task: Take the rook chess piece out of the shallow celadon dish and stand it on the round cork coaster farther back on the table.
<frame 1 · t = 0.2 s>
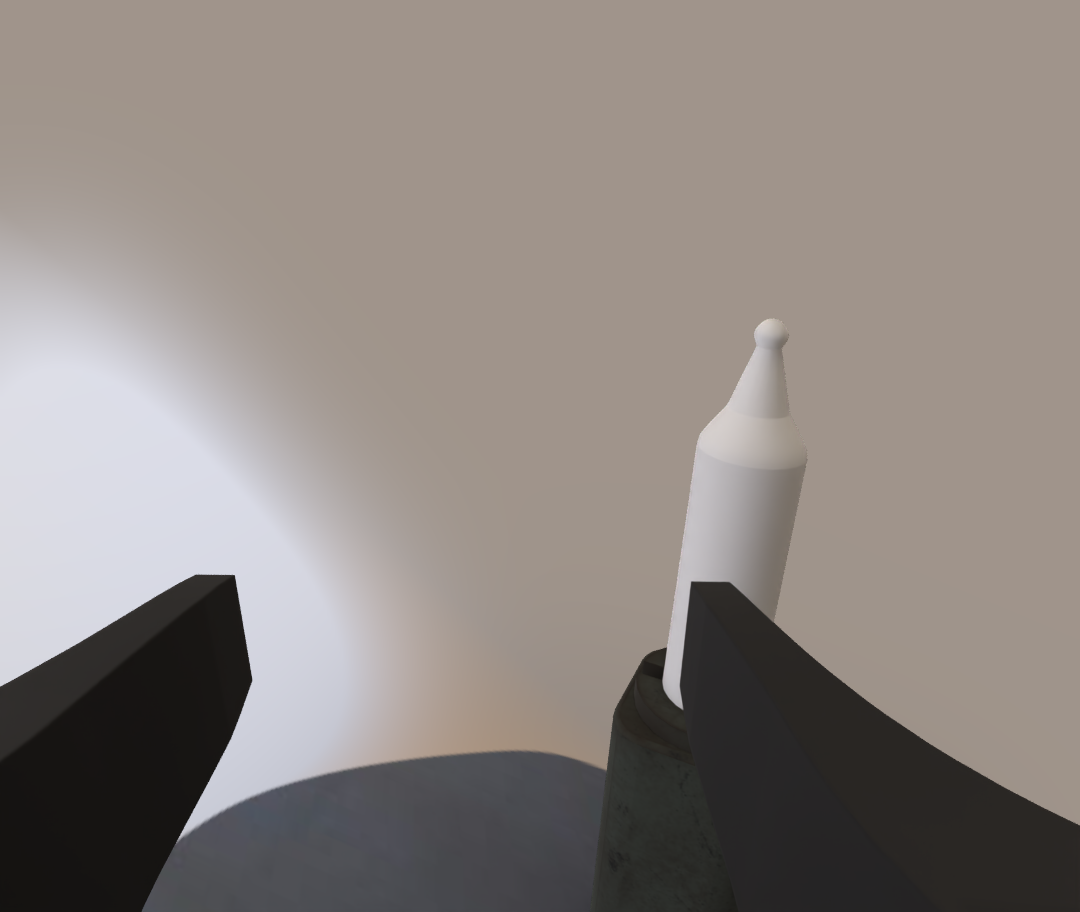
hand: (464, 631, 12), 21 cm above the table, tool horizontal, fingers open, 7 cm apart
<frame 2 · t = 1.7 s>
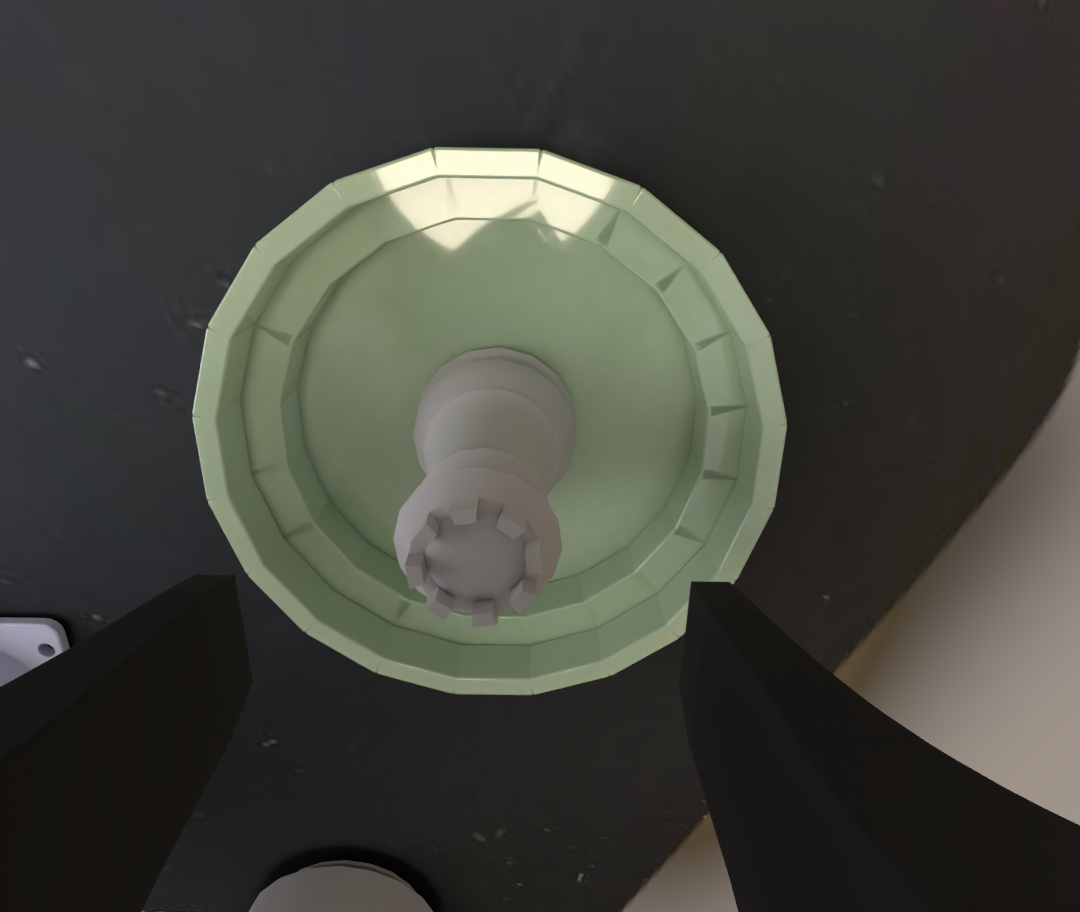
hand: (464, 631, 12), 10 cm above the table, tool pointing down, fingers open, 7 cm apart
can: (351, 907, 29), on the table
dish: (498, 415, 21), on the table
rook chess piece: (497, 417, 21), resting on dish
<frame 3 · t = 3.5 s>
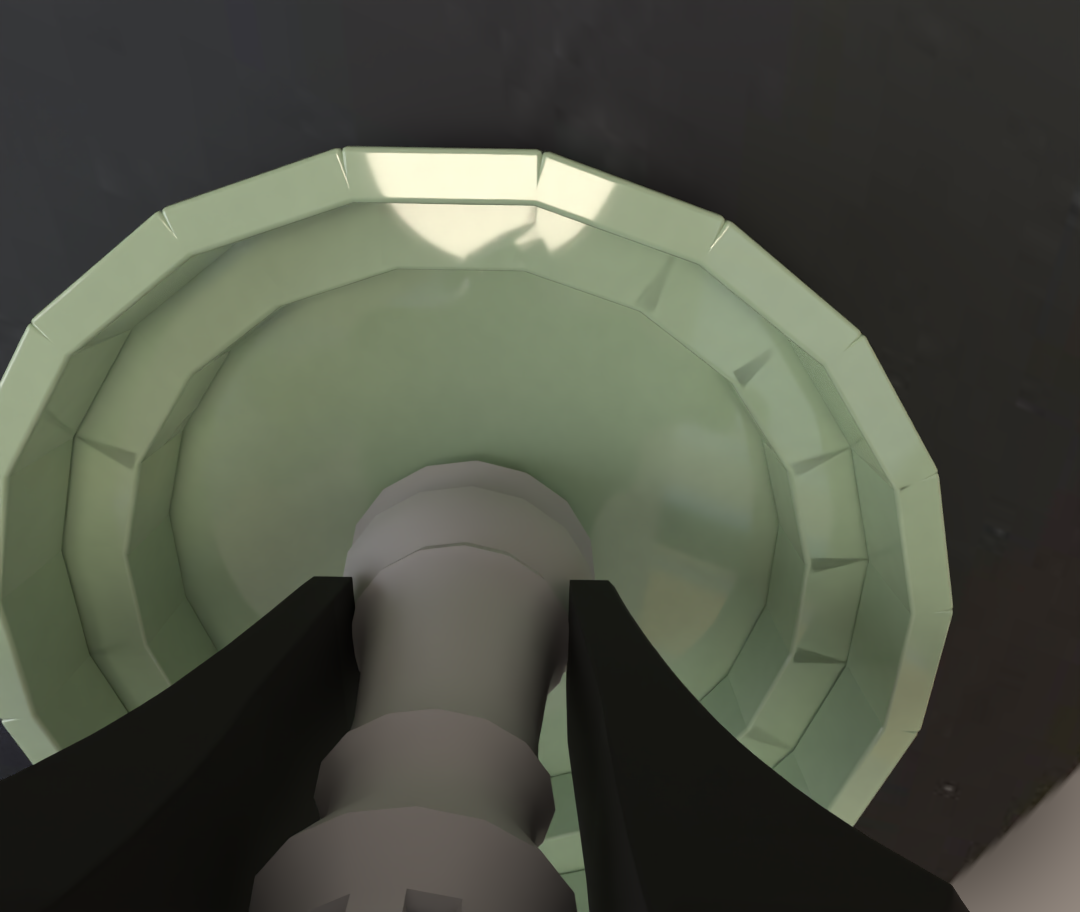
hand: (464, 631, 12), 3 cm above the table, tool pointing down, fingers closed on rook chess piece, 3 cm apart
dish: (477, 549, 14), on the table
rook chess piece: (475, 554, 14), resting on dish, touching gripper
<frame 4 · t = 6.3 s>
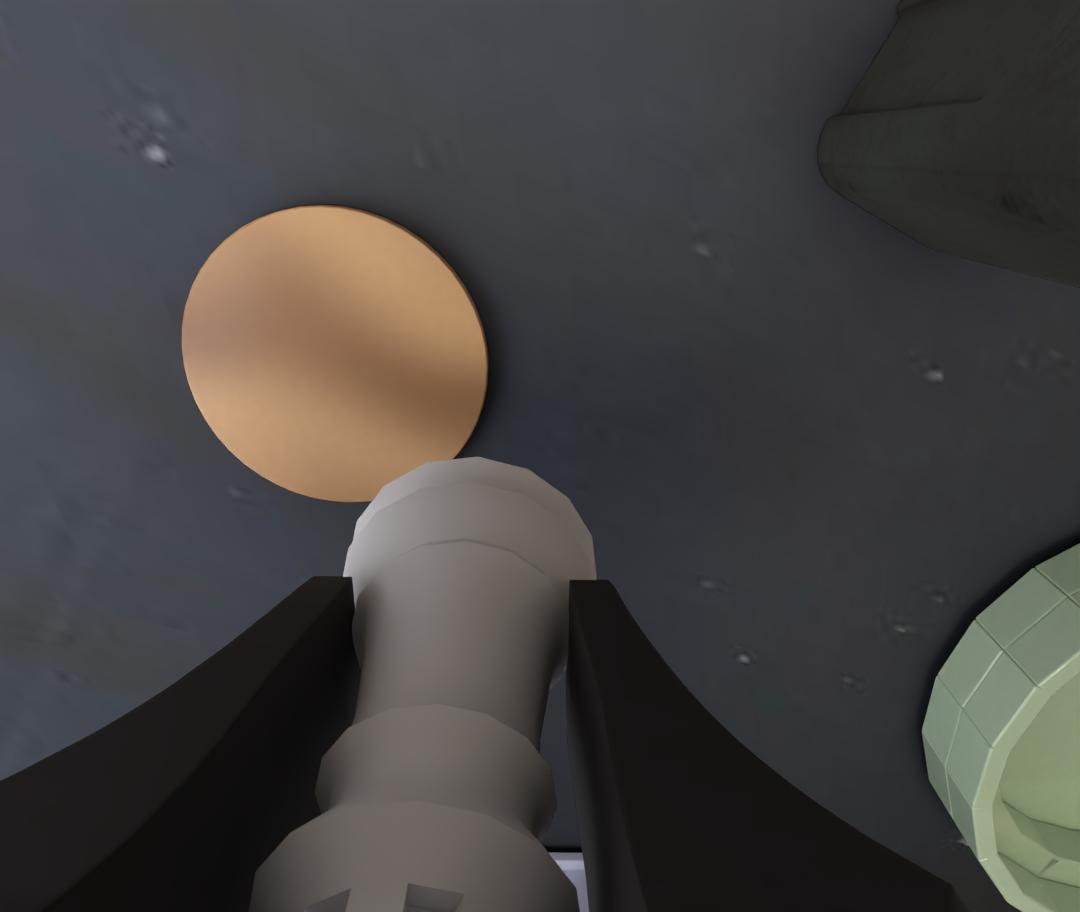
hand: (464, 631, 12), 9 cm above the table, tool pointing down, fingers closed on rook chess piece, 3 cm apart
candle: (944, 120, 18), on the table
rook chess piece: (476, 551, 14), point 7 cm above the table, touching gripper
coaster: (339, 362, 20), on the table
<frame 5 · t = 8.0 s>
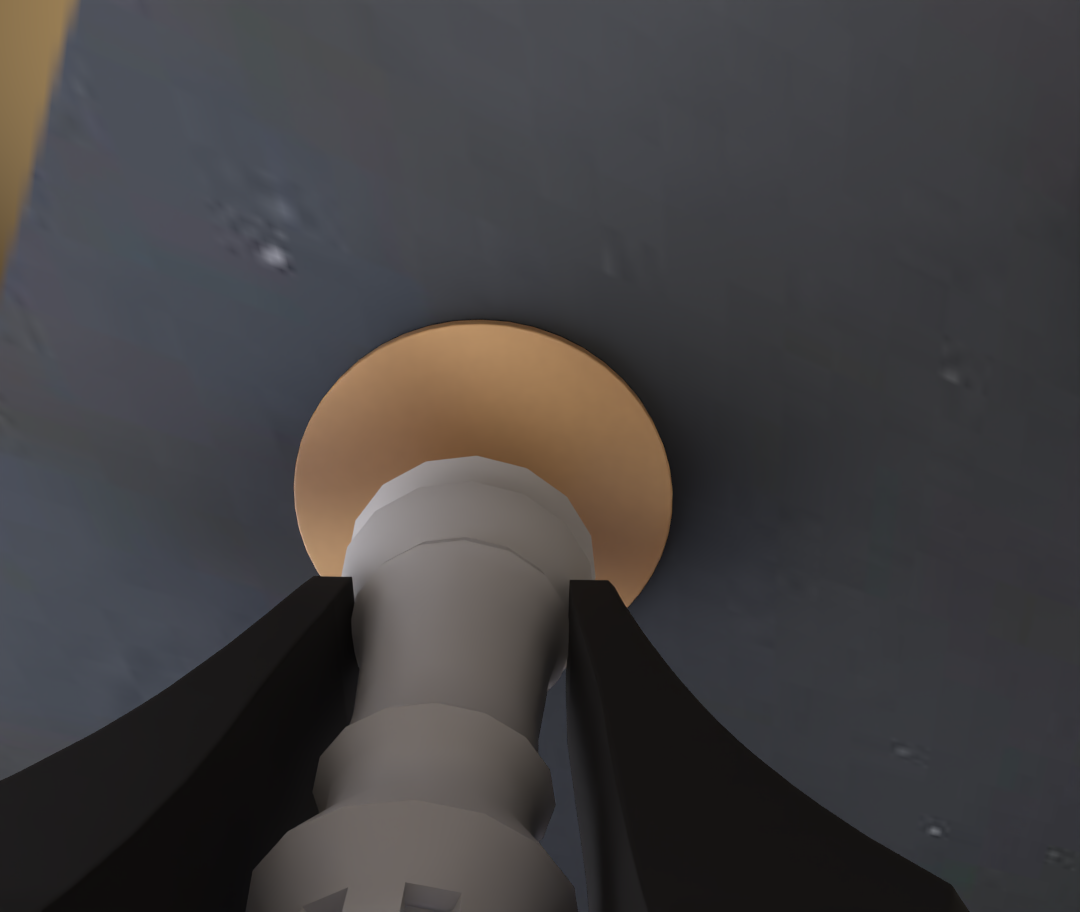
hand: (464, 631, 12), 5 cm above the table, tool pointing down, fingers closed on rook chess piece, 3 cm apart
rook chess piece: (475, 550, 14), point 2 cm above the table, touching gripper
coaster: (484, 502, 16), on the table
when the fingers open (3 cm above the table, at t = 9.1 s): rook chess piece stays where it is, resting on coaster.
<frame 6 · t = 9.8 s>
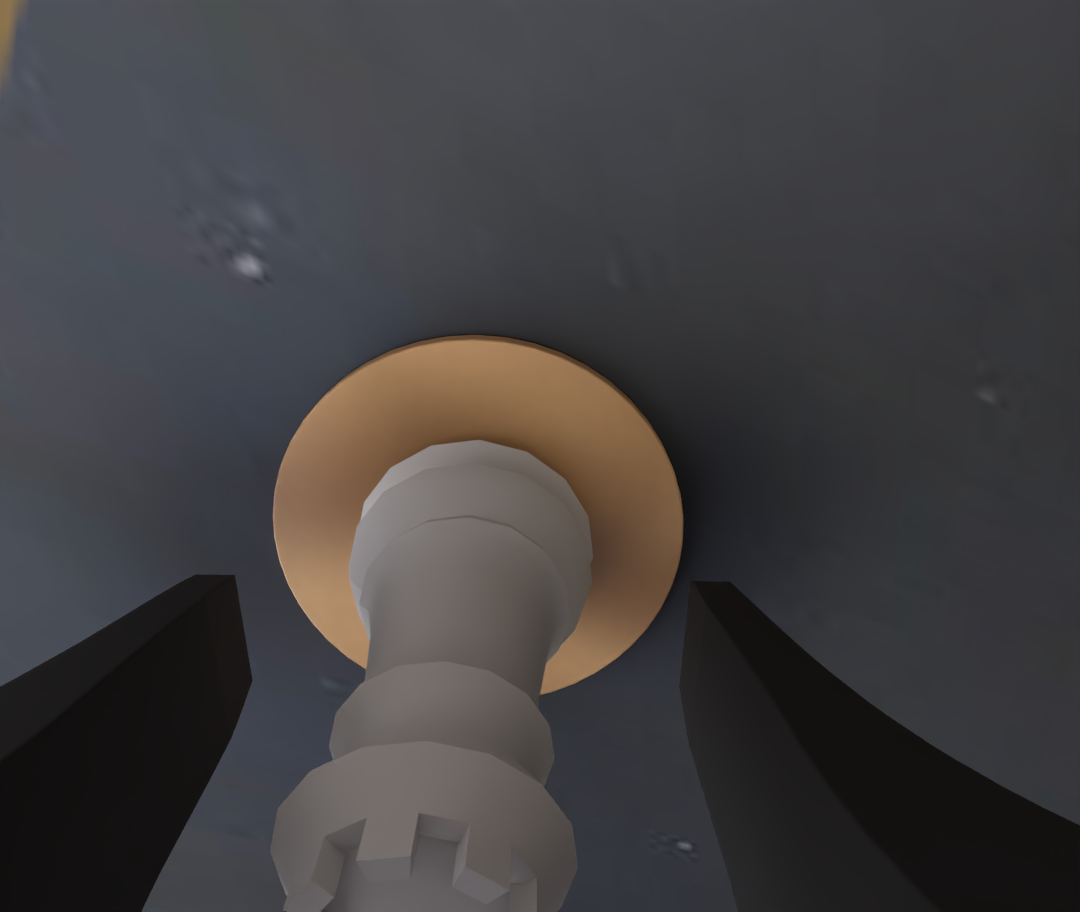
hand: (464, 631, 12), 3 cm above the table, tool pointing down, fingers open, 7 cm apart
rook chess piece: (477, 532, 15), resting on coaster
coaster: (480, 531, 15), on the table
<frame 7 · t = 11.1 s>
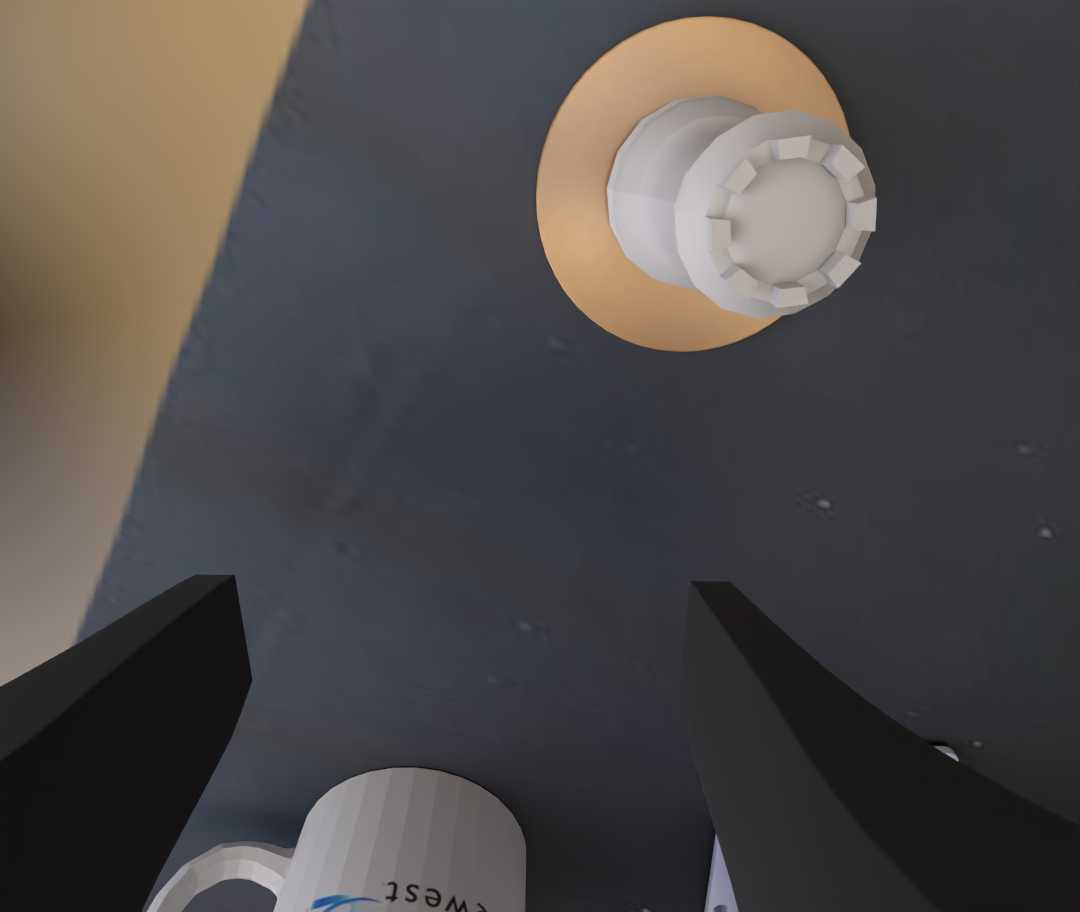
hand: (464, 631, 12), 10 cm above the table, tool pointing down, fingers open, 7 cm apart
rook chess piece: (691, 193, 19), resting on coaster
coaster: (691, 196, 19), on the table
mug: (370, 832, 28), on the table
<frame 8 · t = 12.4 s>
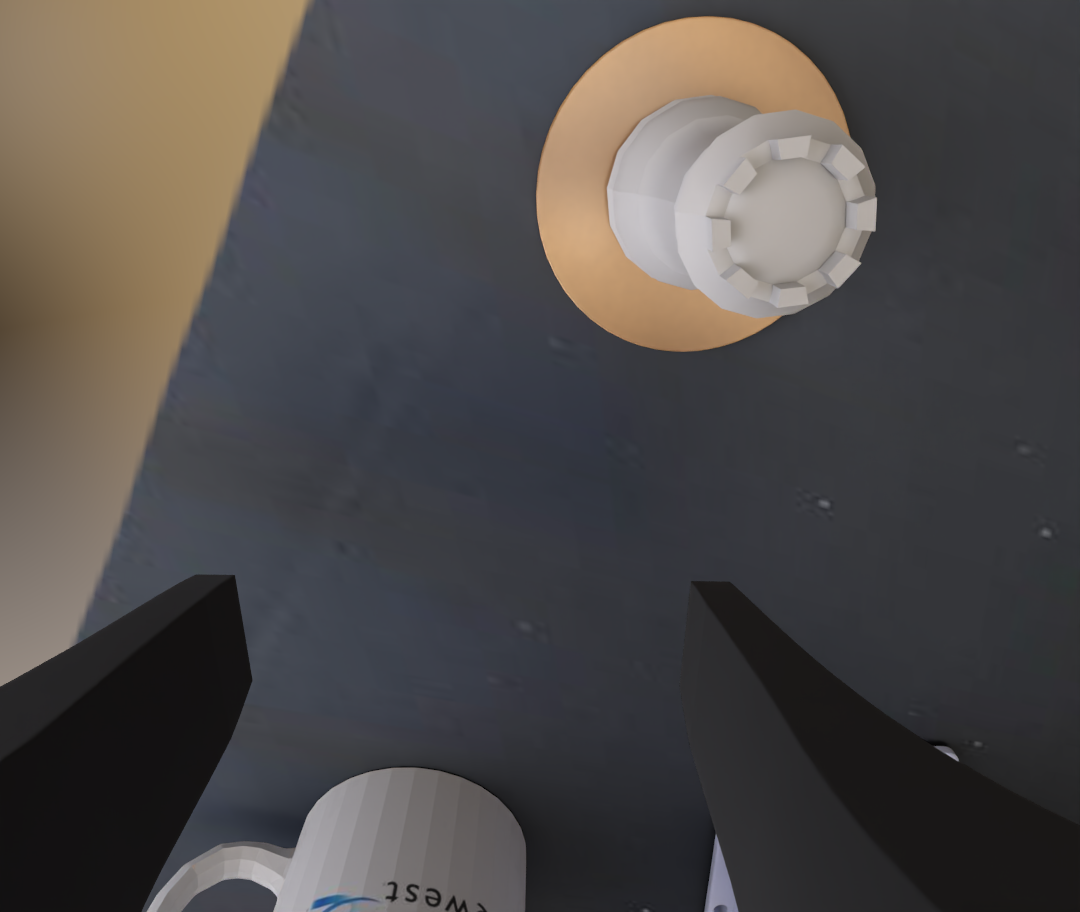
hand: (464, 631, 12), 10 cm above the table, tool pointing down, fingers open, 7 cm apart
rook chess piece: (691, 193, 19), resting on coaster
coaster: (691, 196, 19), on the table
mug: (370, 832, 28), on the table
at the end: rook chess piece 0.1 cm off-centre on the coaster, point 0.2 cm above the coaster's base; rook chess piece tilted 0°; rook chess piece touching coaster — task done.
